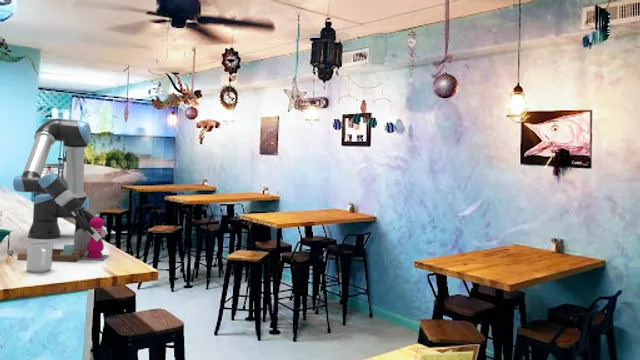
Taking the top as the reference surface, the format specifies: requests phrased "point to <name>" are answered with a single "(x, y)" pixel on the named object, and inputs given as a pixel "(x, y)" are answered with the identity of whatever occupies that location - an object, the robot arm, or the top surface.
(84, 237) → the glass holder
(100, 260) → the mat
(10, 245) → the top surface
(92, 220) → the pepper mill
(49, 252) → the mug
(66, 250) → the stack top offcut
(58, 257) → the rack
